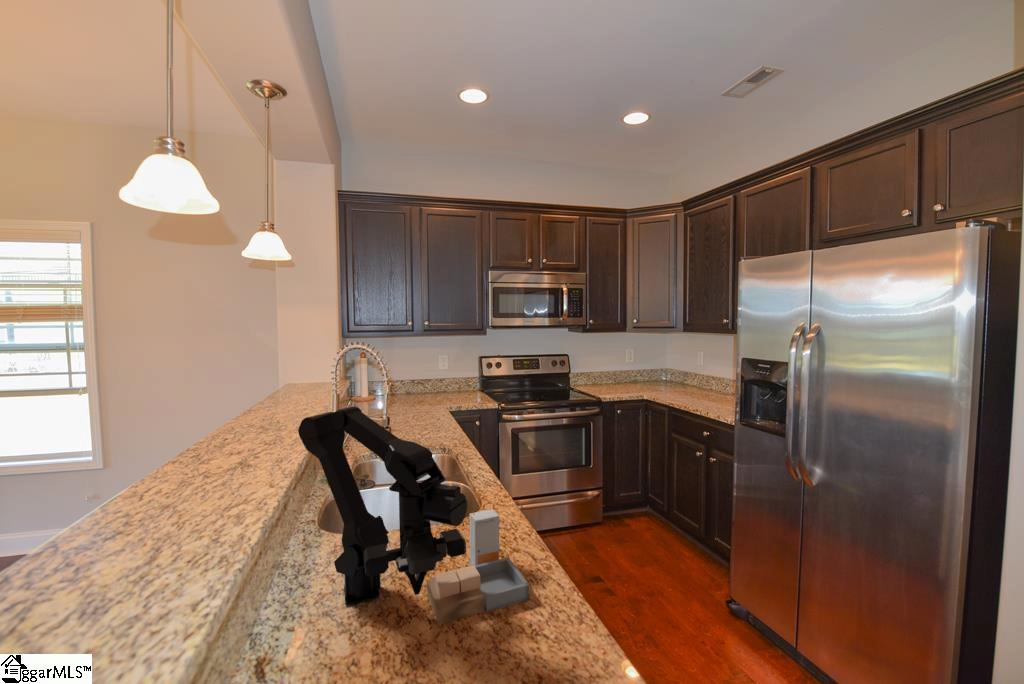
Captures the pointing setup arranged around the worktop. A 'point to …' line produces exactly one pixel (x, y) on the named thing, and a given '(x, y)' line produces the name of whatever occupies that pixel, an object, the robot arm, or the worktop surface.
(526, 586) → the tray
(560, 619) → the worktop surface
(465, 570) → the tile
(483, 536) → the skincare box
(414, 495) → the robot arm
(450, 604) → the board
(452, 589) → the tile
